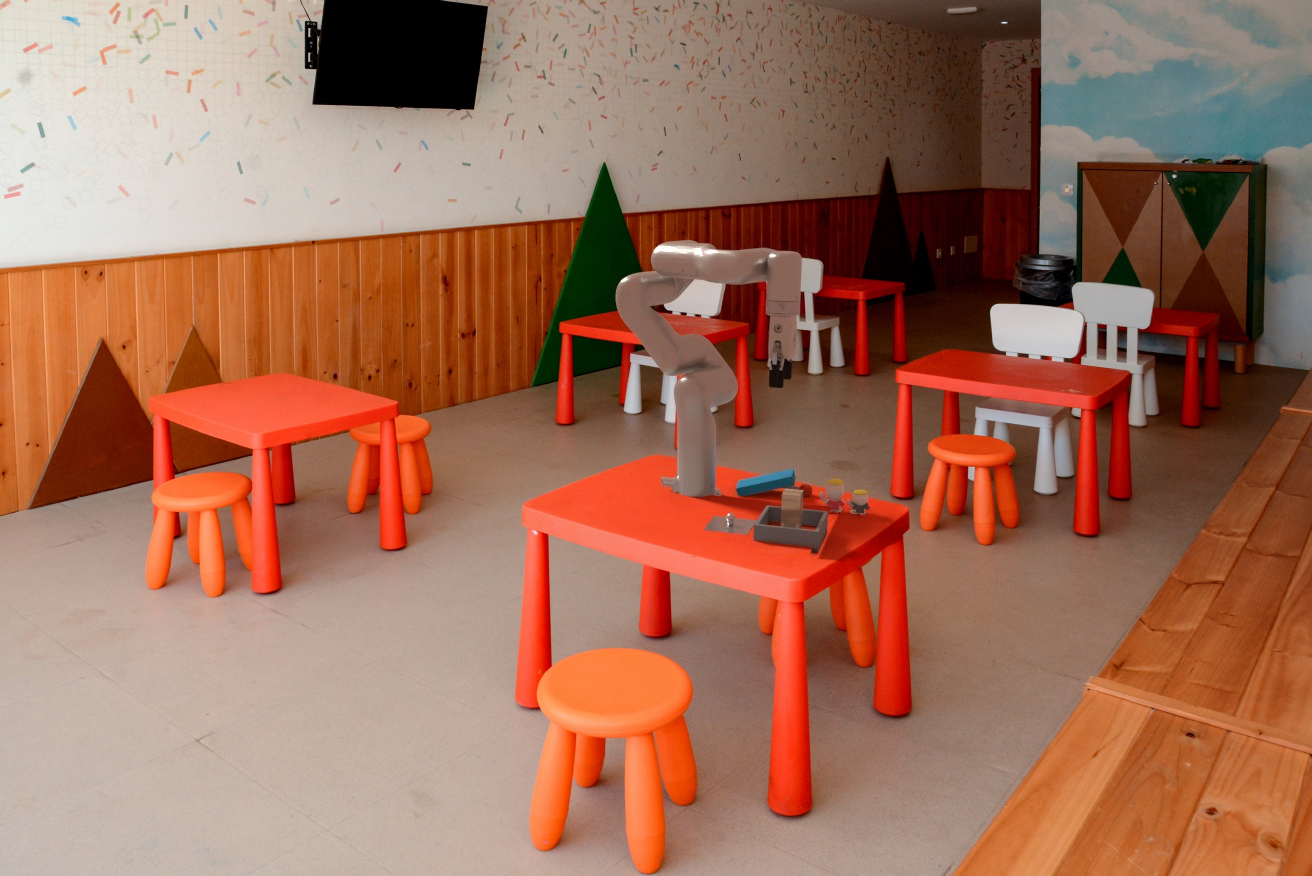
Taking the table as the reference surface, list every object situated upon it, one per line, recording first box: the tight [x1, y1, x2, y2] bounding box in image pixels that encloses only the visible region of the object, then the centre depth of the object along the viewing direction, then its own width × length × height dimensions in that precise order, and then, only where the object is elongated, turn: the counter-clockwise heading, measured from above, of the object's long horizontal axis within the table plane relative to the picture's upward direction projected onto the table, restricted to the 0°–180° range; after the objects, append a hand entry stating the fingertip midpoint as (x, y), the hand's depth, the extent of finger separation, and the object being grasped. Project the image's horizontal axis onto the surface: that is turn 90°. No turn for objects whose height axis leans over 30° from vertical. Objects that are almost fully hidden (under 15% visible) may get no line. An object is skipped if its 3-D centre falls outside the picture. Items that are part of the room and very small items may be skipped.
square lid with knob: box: [703, 512, 757, 536], centre depth 239 cm, size 10×10×4 cm
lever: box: [735, 468, 813, 498], centre depth 266 cm, size 7×7×18 cm
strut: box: [780, 489, 804, 529], centre depth 233 cm, size 4×4×10 cm
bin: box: [752, 504, 829, 555], centre depth 234 cm, size 14×14×5 cm
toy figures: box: [818, 478, 871, 515], centre depth 252 cm, size 12×4×8 cm, turn 76°
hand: (780, 383), depth 240 cm, fingers open, 9 cm apart
